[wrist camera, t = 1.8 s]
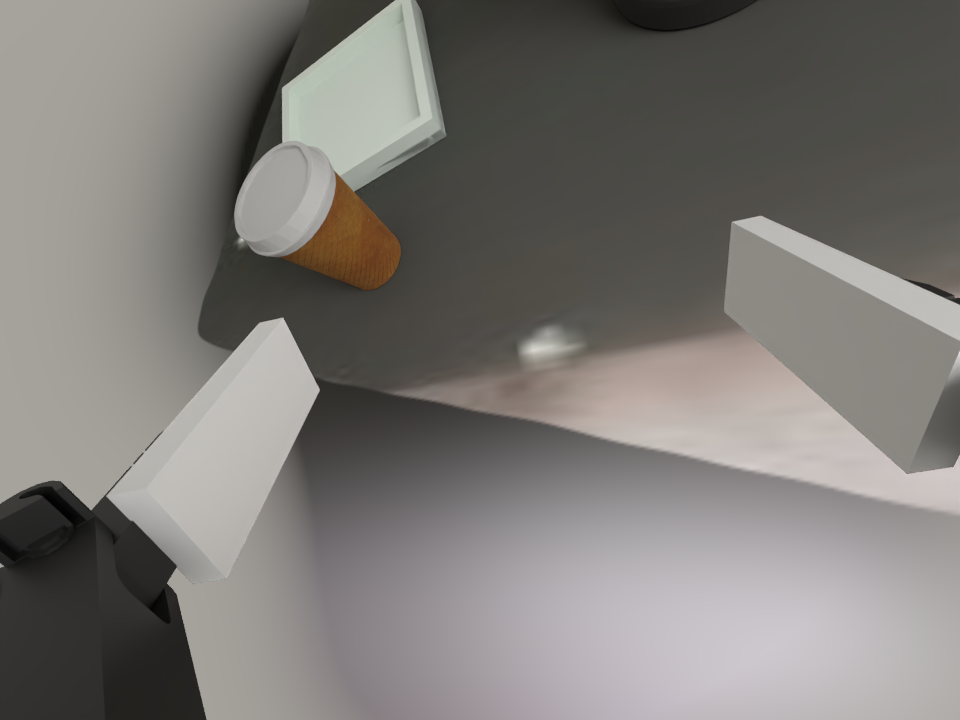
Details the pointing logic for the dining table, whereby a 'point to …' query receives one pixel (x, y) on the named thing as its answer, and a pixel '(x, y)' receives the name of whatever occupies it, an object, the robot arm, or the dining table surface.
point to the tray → (369, 98)
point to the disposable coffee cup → (313, 218)
